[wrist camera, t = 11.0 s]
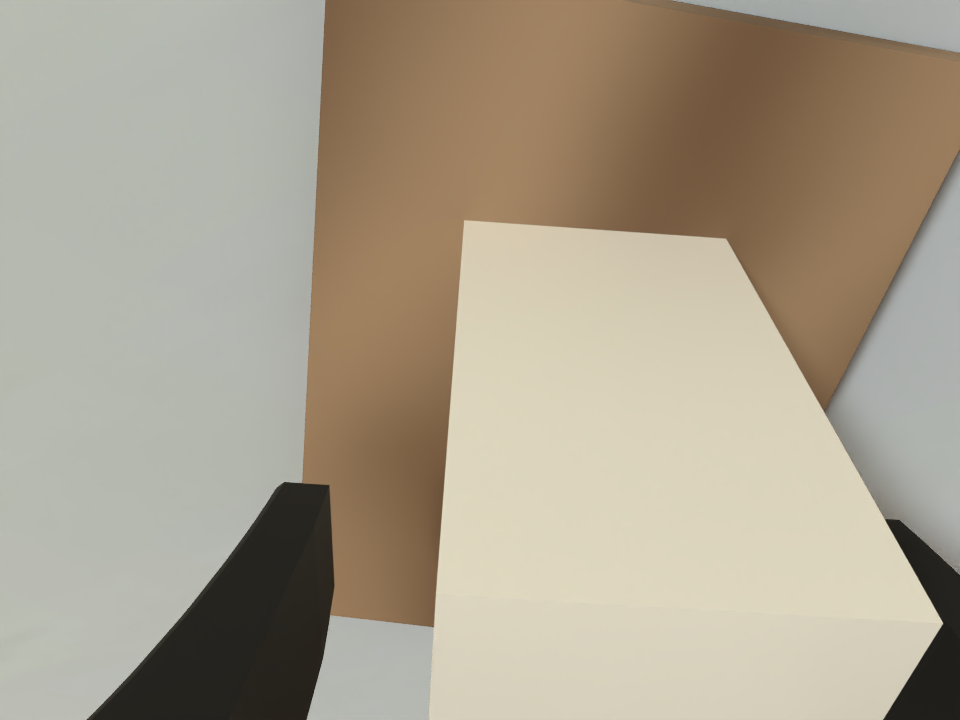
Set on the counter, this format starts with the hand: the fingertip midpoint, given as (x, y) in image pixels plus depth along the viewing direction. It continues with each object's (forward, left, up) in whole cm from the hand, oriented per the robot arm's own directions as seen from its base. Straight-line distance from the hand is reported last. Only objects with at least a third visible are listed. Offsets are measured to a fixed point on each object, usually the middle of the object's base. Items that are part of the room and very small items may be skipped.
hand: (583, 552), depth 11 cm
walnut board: (0, 0, -4) cm, 4 cm away
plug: (0, 0, -3) cm, 3 cm away
